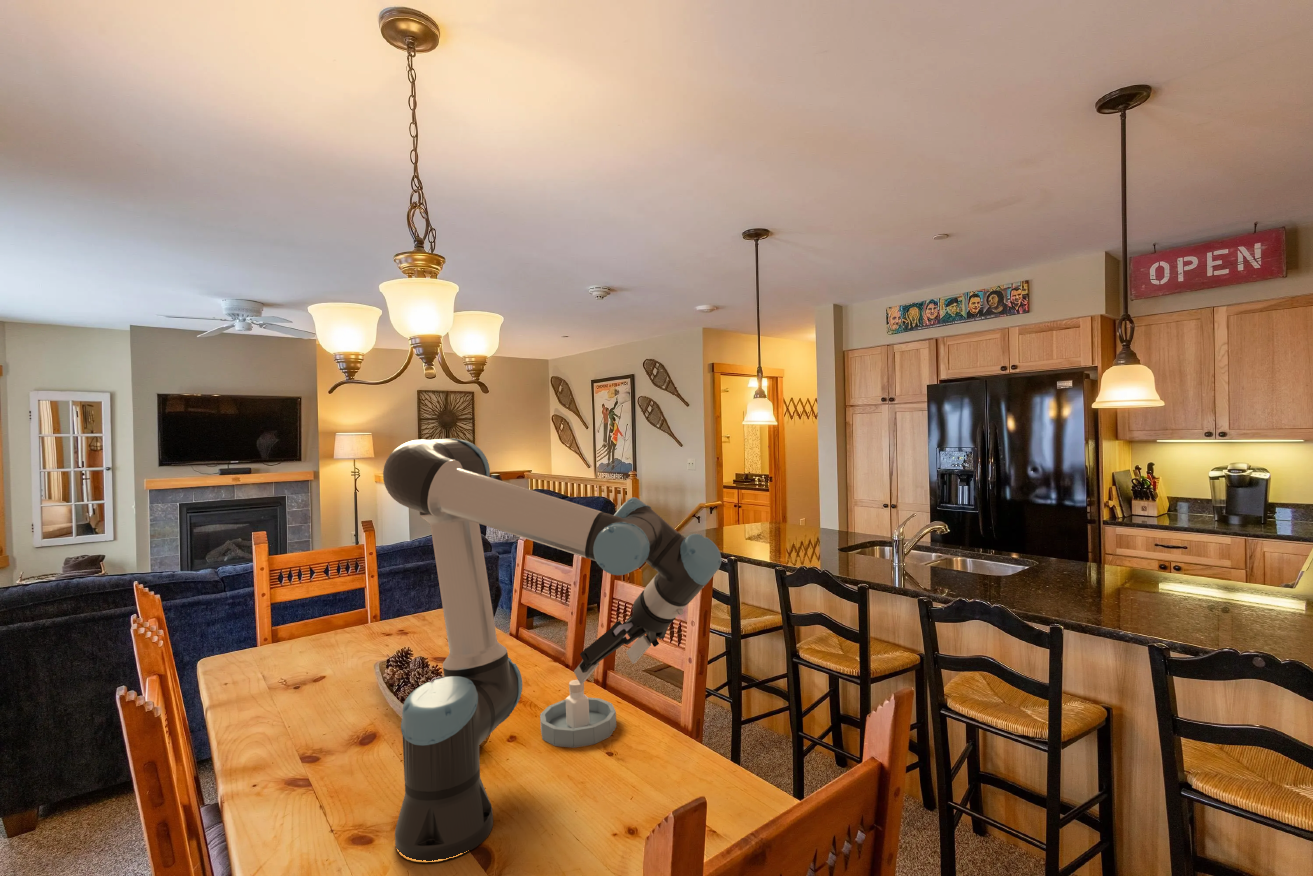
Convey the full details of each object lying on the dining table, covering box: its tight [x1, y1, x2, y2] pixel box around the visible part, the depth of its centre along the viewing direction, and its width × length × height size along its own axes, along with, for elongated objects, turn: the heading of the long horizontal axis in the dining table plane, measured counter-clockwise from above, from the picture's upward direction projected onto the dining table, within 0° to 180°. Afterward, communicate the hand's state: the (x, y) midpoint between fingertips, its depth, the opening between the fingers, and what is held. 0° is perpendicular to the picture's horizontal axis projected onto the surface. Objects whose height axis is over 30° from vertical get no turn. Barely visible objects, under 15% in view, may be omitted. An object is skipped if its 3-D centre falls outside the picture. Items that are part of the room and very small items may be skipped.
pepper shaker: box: [565, 679, 590, 728], centre depth 137 cm, size 4×4×10 cm
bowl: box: [539, 697, 617, 749], centre depth 137 cm, size 16×16×4 cm
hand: (605, 667), depth 122 cm, fingers open, 13 cm apart
